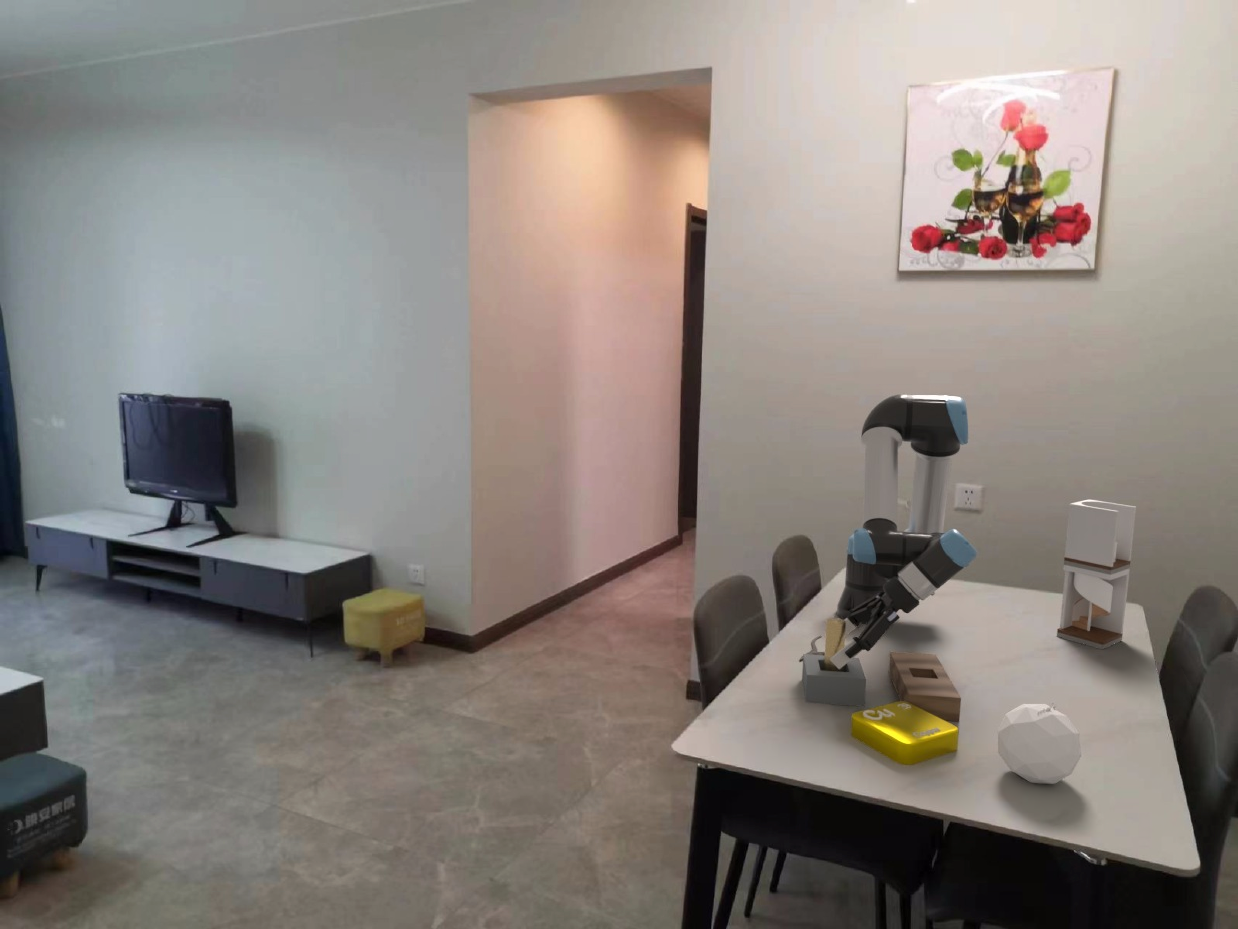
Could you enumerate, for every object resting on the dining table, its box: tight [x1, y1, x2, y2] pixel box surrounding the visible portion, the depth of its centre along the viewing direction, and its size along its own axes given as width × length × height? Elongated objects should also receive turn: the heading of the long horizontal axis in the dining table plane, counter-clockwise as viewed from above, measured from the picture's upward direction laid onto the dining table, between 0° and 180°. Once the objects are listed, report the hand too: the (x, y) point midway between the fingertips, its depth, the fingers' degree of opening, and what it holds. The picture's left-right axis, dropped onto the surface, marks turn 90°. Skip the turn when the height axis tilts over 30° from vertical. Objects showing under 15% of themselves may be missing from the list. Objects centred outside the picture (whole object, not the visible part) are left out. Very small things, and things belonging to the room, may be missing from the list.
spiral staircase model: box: [1056, 499, 1137, 650], centre depth 222 cm, size 11×11×35 cm
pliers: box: [798, 635, 825, 663], centre depth 213 cm, size 10×1×20 cm
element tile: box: [850, 700, 960, 766], centre depth 166 cm, size 15×15×5 cm
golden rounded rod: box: [824, 617, 846, 672], centre depth 187 cm, size 4×4×16 cm
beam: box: [888, 651, 962, 722], centre depth 187 cm, size 24×10×5 cm, turn 172°
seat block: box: [801, 653, 867, 707], centre depth 188 cm, size 12×12×6 cm
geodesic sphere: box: [997, 702, 1082, 785], centre depth 153 cm, size 14×14×14 cm
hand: (831, 652), depth 187 cm, fingers open, 13 cm apart
